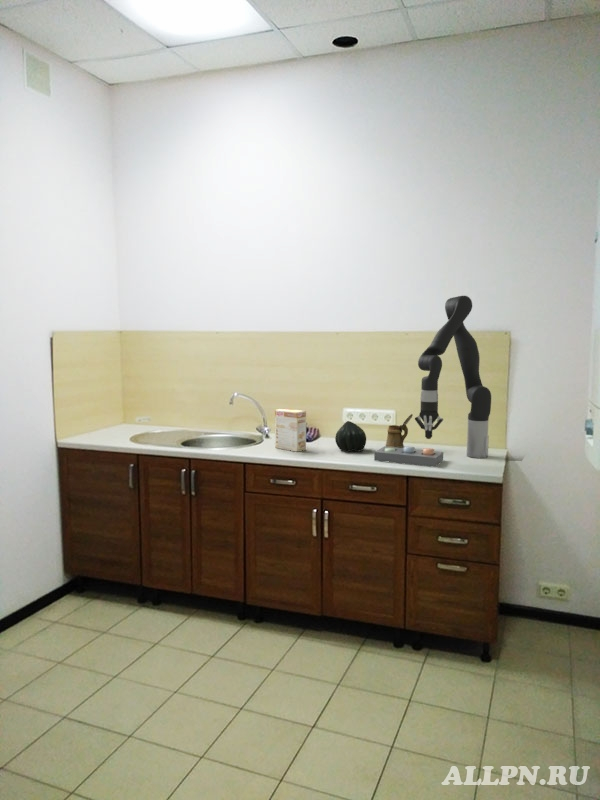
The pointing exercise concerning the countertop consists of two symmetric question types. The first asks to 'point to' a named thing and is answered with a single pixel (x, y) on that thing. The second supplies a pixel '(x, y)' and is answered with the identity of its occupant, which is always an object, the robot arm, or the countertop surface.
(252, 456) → the countertop surface
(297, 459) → the countertop surface
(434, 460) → the button panel
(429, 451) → the terracotta button
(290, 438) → the coffeecake box
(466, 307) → the robot arm
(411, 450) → the slate button
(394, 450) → the sage button
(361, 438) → the squash
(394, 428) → the wooden mug
